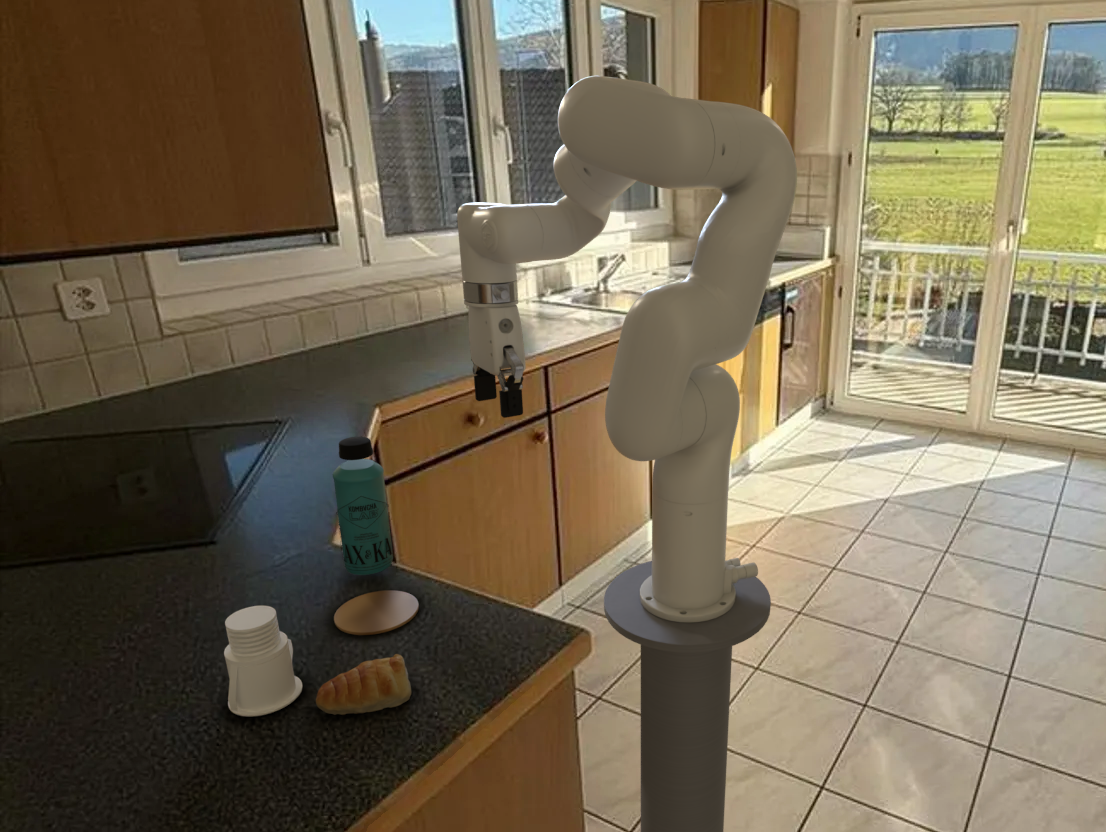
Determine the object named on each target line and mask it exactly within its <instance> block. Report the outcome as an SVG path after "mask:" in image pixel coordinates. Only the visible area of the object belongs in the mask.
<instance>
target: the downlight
mask: <svg viewBox="0 0 1106 832" xmlns="http://www.w3.org/2000/svg"><path fill="white" fill-rule="evenodd" d="M224 625H225V630H226V636H227V640H228V644H227V645H226V647H224V651H223V655H224V659H225V664H226V669H227V673H228V678H229V683H228V696H227V700H228V701H227V706H228V709H229V710H230V712H231V713H232V714H235V715H237V716H240V717H261V716H265V715H269V714H272V713H274V712H277V711H280V710H281V709H284V708H285V707H287V706H288V705H290V704H292V703H293V702H294V701H295V700H297V698H299V696H300V695H301V693H302V691H303V682H302V679H300V677H298V676H296V675H295V673H294V666H293V657H294V646H293V643H292V639H291V638H288V635H287V634H286V633H284V632H283V631H281V630H280V627H279V621H278V616H277V611H276V609H275V608H274V607H272V606H269V605H254V606H253V605H252V606H248V607H245V608H241V609H239V610H236V611H234V612H233V613H232V614H230V615H229V616H227V618H226V619H225V621H224Z"/></svg>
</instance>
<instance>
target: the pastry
mask: <svg viewBox="0 0 1106 832" xmlns="http://www.w3.org/2000/svg"><path fill="white" fill-rule="evenodd" d="M411 695H412V687H411V682H410V680H409V673H408V669H407V666H406V663H405V659H404V657H403V656H402V655H401V654H399V653H395V654H394V655H393V656H392V657H384V658H375V659H373V660H365V661H363V662H361V663H360V664H358V665H357V666H356V667H354V668H352V669H350V670H348V671H346V672H342V673H339V674H338V675H337V676H335V677H333V678H331V679H329V680H328V681H326V682H324V683H323V684H322V685H321V686H320V687H319V689H318V690H317V693H316V697H315V704H316V706H317V708H318V709H319V710H321V711H323V712H324V713H326V714H332V715H334V716H336V715H342V716H345V715H346V714H356V715H358V714H364V713H371V712H376V711H382V710H383V709H386V708H395V707H398V706H401V705H402V704H404V703H406V702H407V701H409V700H410V698H411Z"/></svg>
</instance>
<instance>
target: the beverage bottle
mask: <svg viewBox="0 0 1106 832" xmlns="http://www.w3.org/2000/svg"><path fill="white" fill-rule="evenodd" d="M373 455H374V449H373V446H372V441H371V439H370V438H369V437H366V436H350V437H346V438H343V439H341V440H340V441H339V442H338V458H339V459H341V460H343V461H344V460H345V461H344V462H342V463H340V464H339V465H338V466H337V467H336V468H335V470H334V471H333V472H332V478H333V486H334V492H335V499H336V501H335V502H336V510H337V511H336V515H337V527H338V530H339V538H340V540H339V541H340V542H339V544H340V550H341V552H342V555H341V559H343V560H342V562H343V563H342V564H343V565H344V568H345V569H346V571H347V572H348V573H350V574H352V575H356V576H367V575H368V576H369V575H373V574H377V573H380V572H383V571H385V570H387V569H388V568H390V566H391V565H392V564H393V560H394V558H395V556H394V546H393V538H392V537H393V536H392V529H391V527H392V525H391V523H390V522H391V519H390V516H391V515H390V514H389V507H390V506H389V504H388V503H387V493H386V484H385V475H384V474H385V473H384V468H383V466H382V465H381V464H379V463H378V462H376V461H374V460H372V459H370V458H369V457H372V456H373Z"/></svg>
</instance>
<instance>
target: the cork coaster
mask: <svg viewBox="0 0 1106 832" xmlns="http://www.w3.org/2000/svg"><path fill="white" fill-rule="evenodd" d="M419 609H420V605H419V601H418V599H417V598H416V597H415V596H414V595H413V594H410V592H406V591H402V590H393V589H392V590H391V589H390V590H388V589H387V590H378V591H372V592H367V593H364V594H361V595H358V596H356V597H354V598H351V599H350V600H347V601H346V602H345V603H343V604H342V605H341V606H340V607H338V609H336V612H334V616H333V621H334V625H335V627H336V628H337V629H338V630H339V631H341V632H342V633H343V632H344V633H346V634H349V635H354V636H370V635H371V636H372V635H378V634H384V633H387V632H390V631H393V630H396V629H398V628H400V627H402V626H404V625H407V623H409V622H410V621H411V620H412V619H414V617H416V615H417V613H418V611H419Z"/></svg>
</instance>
